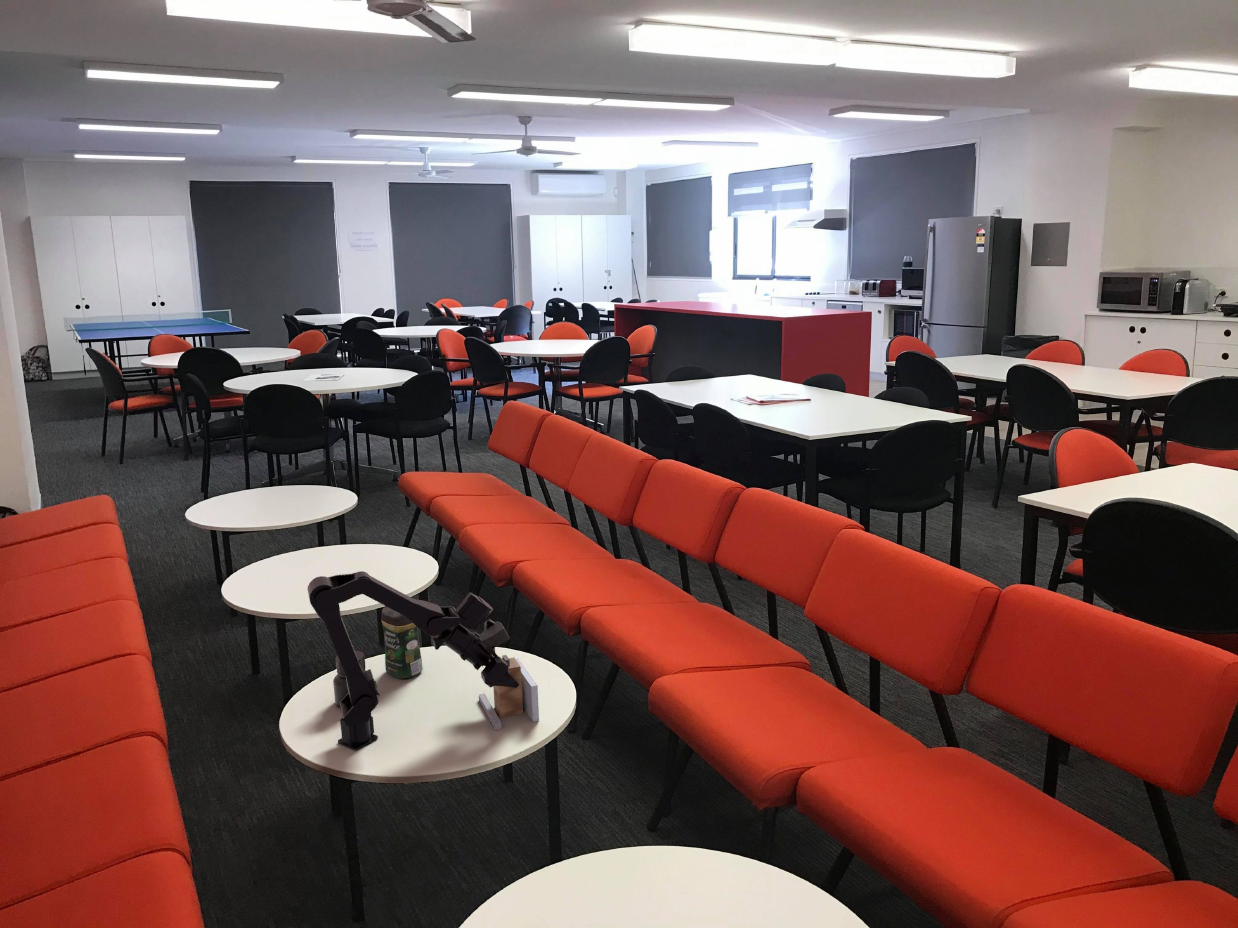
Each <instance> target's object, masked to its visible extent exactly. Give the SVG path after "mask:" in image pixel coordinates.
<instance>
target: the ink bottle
mask: <svg viewBox="0 0 1238 928" xmlns="http://www.w3.org/2000/svg"><path fill="white" fill-rule="evenodd" d="M354 651H355V653H356V656H357V658H358V661H359V664H360V666H361V667H362V669H363V670H364V671H365V672H366V671H367V670H366V658H365V653H364V652H362V651H359V650H354ZM335 666H336V667H335V668H336V675H335V676H334V678H333V681H332V683H333V685H332V686H333V691H334V692H333V694H334V703H335V705H336V706H337V707H338V708H339V709H341V706H340V701H341V700H342V699H343V698H344V697H345V696H346V694H347V693H348V687H347V681H346V675H345V673H344V670H343V668H342V665H341V663H340V660H339V658H338V655H336V657H335Z"/></svg>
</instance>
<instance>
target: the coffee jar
mask: <svg viewBox="0 0 1238 928" xmlns="http://www.w3.org/2000/svg"><path fill="white" fill-rule="evenodd" d="M380 618H381V619H380V620H381V623H382V624H381V625H382V629H383V635H384V637H383V638H384V664H385V665H384V667H385V671H386V673H387V674H389V675H390V676H393V677H395V678H397V679H401V680H405V679H410V678H414V677H416V676H418V675H419V674H421V673H422V672H423V669H424V668H423V660H422V654H421V645H420V636H419V628H418V627H417V626H416V625H415V624H414V623H413V622H411V621H410V620H409V619H408V618H407V617H406V616H404V615H402V614H400V613H398V612H396V611H394V610H392V609H390V608H388V607H387V606H385V605H384V606H383V607H382V609H381V617H380Z"/></svg>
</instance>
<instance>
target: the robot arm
mask: <svg viewBox="0 0 1238 928" xmlns="http://www.w3.org/2000/svg"><path fill="white" fill-rule="evenodd" d="M307 593H308V599H309V603H310V605H311V608H313V610H314V611H315V613H316V615H317V616H318V617H319V619H320V620H321V621H322V622H323V623H324V625H325V627H326V630H327V633H328V635H329V638H330V640H331V642H332V645H333V647H334V650H335V653H336V656H338V658H339V660H340V663H341V665H342V668H343V670H344V673H345V675H346V681H347V687H348V693H347V694H346V696H345V697H344V698H343V699H342V700H341V701H340V706H341V708H340V710H341V714H342V717H341V718H340V719H339V722H340V731H341V732H340V734H341V738H339V739H337V743H338V744H340V745H343V746H345V747H348V748H349V749H352V750H354V751H357V750H360V749H361V748H363V747H365V746H367V745H368V744H370V743H373V742H374V741H376V740H378V739H379V737H378V735H376V734H375V727H374V726H375V725H374V724H375V723H374V717H373V716H372V711H374V710H375V709H376V707H377V705H378V704H379V698H378V696H380V691H379V688H378V685H377V682H376V681H375V679H374V675H373V673H372V670H371V668H369V669H367V670H366V672H365V671H364V670H363V669H362V667H361V666H360V664H359V661H358V658H357V656H356V653H355V651H356V650H355V647H354V646H353V644H352V641H351V639H350V636H349V633H348V631H347V628H346V625H345V624H344V623H345V622H344V620H343V618H342V614H341V607H340V604H342V603H345V602H347V601H349V600H351V599H352V598H355V597H357V596H360V595H361V596H362V595H364V596H366V597H368V598H370V599H372V600H374V601H375V602H377V603H379V604H381V605H383V606H384V607H385V606H387V607H388V608H390V609H392V610H394V611H396V612H398V613H400V614H402V615H404V616H406V617H407V618H408V619H409V620H410V621H411V622H413V623H414V624H415V625H416V626H417V627H418V630H420V631H422V632H423V633H424V634H426V635H428V636H429V637H431V638H432V645H433V647H434V649H435V650H436V651H437V650H439V649H440V647H441V646H442V645H445V646H446V647H447V648H448V649H450V650H452V651H453V652H454V653H456V654H457V655H458V656H459V657H460V659H461V660H463V661H464V662H465V661H467V662H468V663H470V664H471V665H472V666H473V667H474V670H476V671H479V669H481V667H484V668H483V669H482V670H481V671H480V677H481V680H482V681H483V683H484V684H485V685H487V686H488V687H489V688H493V687H494V686H504V687H512V688H517V687H518V686H519V683H518V682H517V681H516V680H515V679H514V678H513V677H512V676H511V674H510V673H509V672H508V668H509V666H508V664H507V663H506V661H504V660H503V659H502V656H499V655H498V654H497V653H496V647H498V646H500V645H502V644H504V643H506V642H507V641H509V640H510V638H511V637H510V635H509V633H508V632H507V630H506V628H505V627H504V625H503V624H502V622H500V621H498V620H497V621H495V620H494V621H493V620H492V619H490V618H488V616H489V615H490V614H491V613H492V612H493V610H494V608H493V607H492V606H491V605H490V604H489V603H488V602H487V601H485V600H484V599H483V598H482V597H480V596H479V595H478V596H477V595H476V594H473V592H468V593H467V595H465V598H464V599H463V600H462V601H461V602H460V604H459V605H458V606H457V607H456V608H455V607H454V606H451V605H450V606H448V605H447V606H439V605H438V604H436V603H433V602H430V601H426V600H422V599H416V598H414V597H411V596H409V595H407V594H405V593H403V592H401V591H399V590H398V589H395V588H394V587H392V586H390V585H388V584H386V583H384V582H383V581H381V580H379V579H377V578H375V577H373V576H371V575H370V574H369V573H368V572H366V571H356V572H352V573H343V574H335V575H331V576H326V575H325V576H324V575H323V576H322V575H321V576H317V577H315V578H313V579H312V580H311V581H310V582H309V583H308V586H307ZM487 618H488V619H487ZM486 619H487V620H486ZM461 623H462V624H463V625H462V624H461ZM482 623H484V624H483V625H484V629H482V632H481V633H477V631H475V630H476V629H478V628H479V627H480V626H481V624H482ZM472 629H473V630H474V631H472V632H471V631H470V630H472Z"/></svg>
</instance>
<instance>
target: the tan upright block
mask: <svg viewBox="0 0 1238 928" xmlns="http://www.w3.org/2000/svg"><path fill="white" fill-rule="evenodd" d="M501 658H502V659H503V660H504V661H506V663H507V664H508V666H509V668H508V672H509V673H510V674H511V676H512V677H513V678H514V679H515V680H516V681H517V682H518V683H519V686H518V687H517V688H512V687H504V686H494V687H492V688H493V702H494V703H493V704H494V710H495V712H496V714H498V717H499V719H500V718H506V717H510V716H517V715H520V714H523V713H524V710H523V708H524V707H523V704H522V684H521V666H520V665H519V663H518V662H517V660H516V659H517V658H516V657H510V658H509V656H508V655H507V654H504V655H502V656H501Z"/></svg>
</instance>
